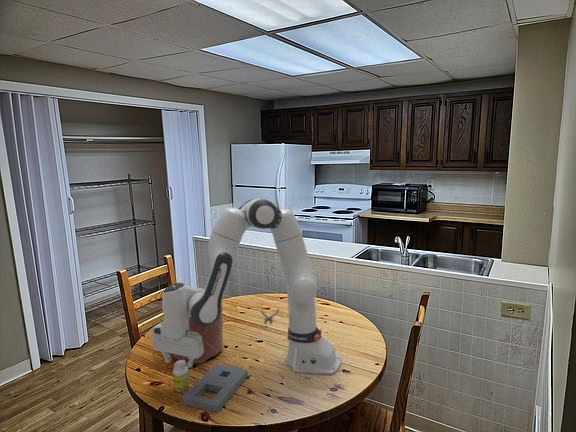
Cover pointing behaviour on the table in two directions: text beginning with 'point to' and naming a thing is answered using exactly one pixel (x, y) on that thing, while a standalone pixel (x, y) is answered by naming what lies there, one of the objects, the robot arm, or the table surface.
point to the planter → (207, 340)
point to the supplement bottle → (181, 376)
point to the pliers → (269, 317)
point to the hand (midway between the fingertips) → (178, 364)
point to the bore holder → (215, 387)
